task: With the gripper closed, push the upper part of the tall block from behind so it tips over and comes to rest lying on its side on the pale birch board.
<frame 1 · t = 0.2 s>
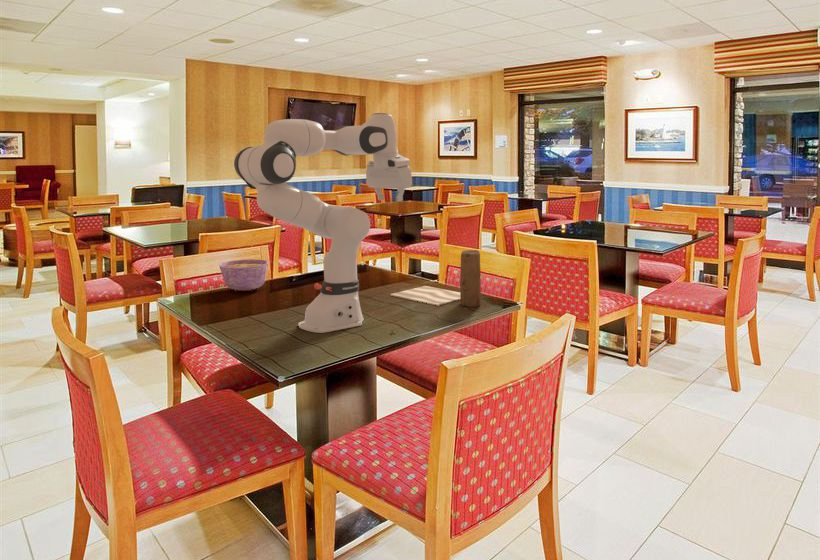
hand: (390, 200, 218), 39 cm above the table, tool pointing down, fingers open, 8 cm apart
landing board: (431, 296, 243), on the table
bowl of food: (246, 290, 261), on the table
block: (470, 304, 229), on the table
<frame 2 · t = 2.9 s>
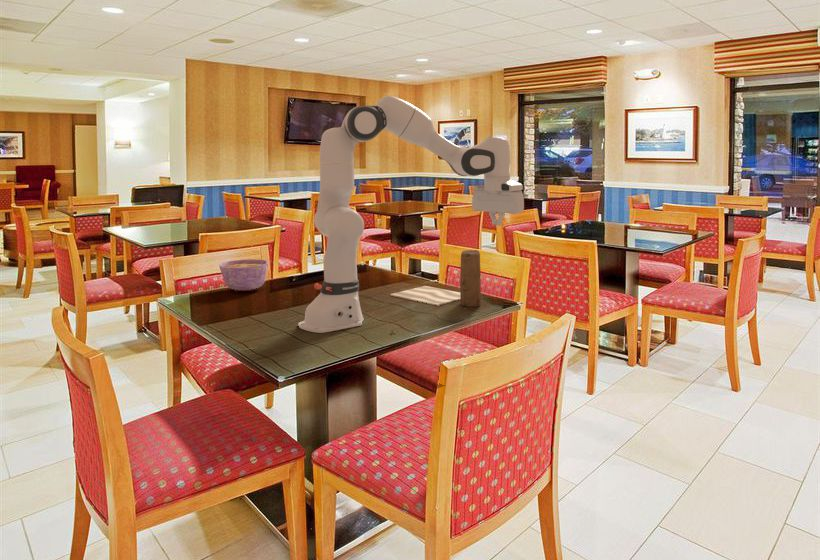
hand: (496, 225, 214), 30 cm above the table, tool pointing down, fingers closed
nothing on the table moved.
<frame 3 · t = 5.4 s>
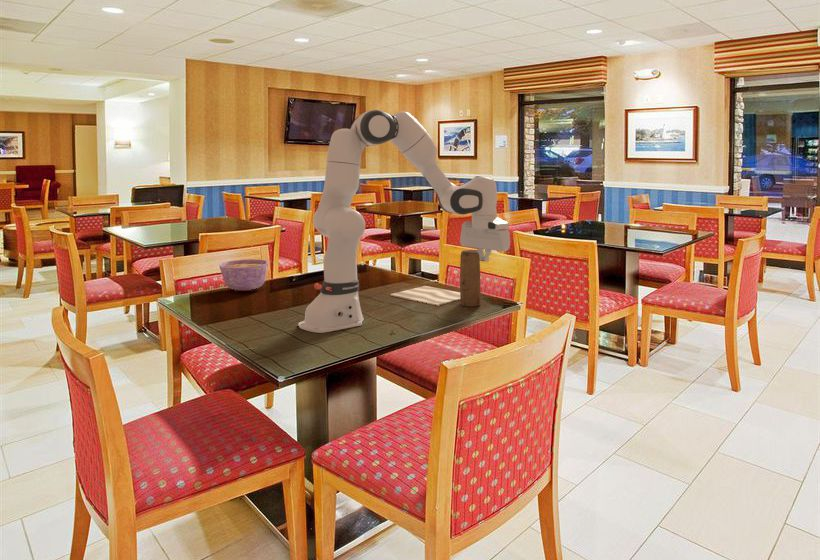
hand: (484, 261, 221), 17 cm above the table, tool pointing down, fingers closed
block: (470, 304, 229), on the table, touching gripper
everything else where it was.
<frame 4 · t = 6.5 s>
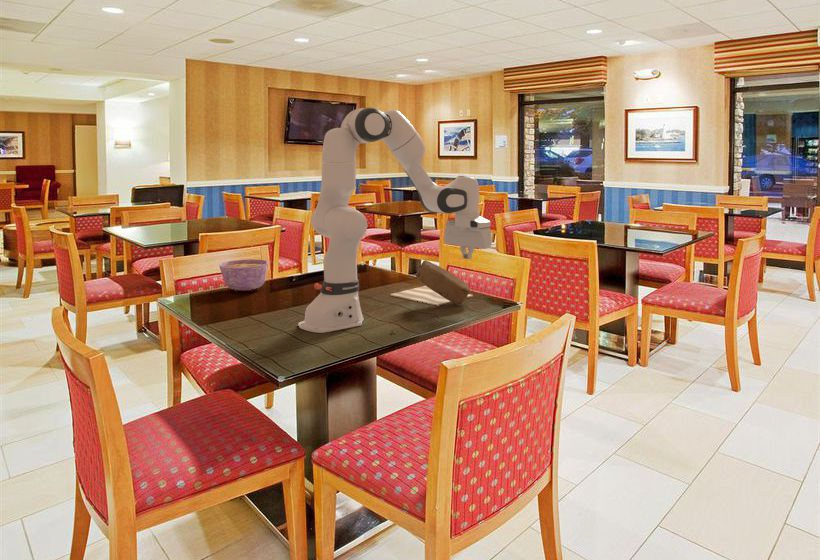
hand: (467, 258, 227), 17 cm above the table, tool pointing down, fingers closed
block: (465, 296, 228), point 3 cm above the table
everything else where it was.
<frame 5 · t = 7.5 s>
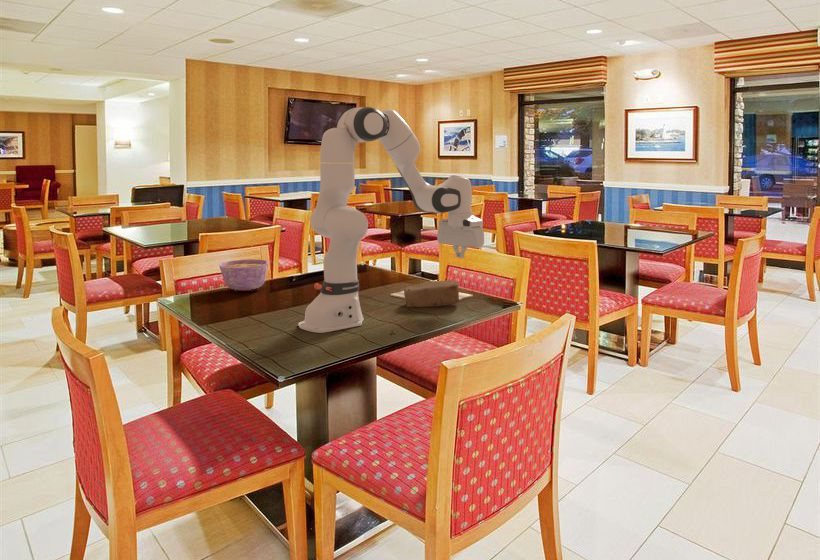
hand: (459, 257, 229), 17 cm above the table, tool pointing down, fingers closed
block: (459, 290, 227), point 5 cm above the table, touching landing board
everything else where it was.
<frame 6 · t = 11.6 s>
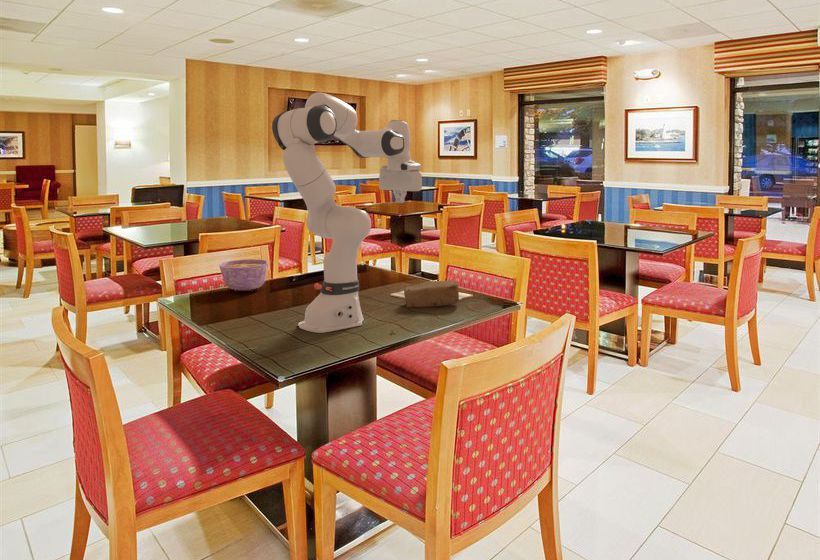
hand: (400, 202, 233), 37 cm above the table, tool pointing down, fingers closed
block: (459, 290, 227), point 5 cm above the table, touching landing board
everything else where it was.
at the end: block tilted 96°; block inside the target area (9.3 cm from its centre), point 5.3 cm above the table; block touching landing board, table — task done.
